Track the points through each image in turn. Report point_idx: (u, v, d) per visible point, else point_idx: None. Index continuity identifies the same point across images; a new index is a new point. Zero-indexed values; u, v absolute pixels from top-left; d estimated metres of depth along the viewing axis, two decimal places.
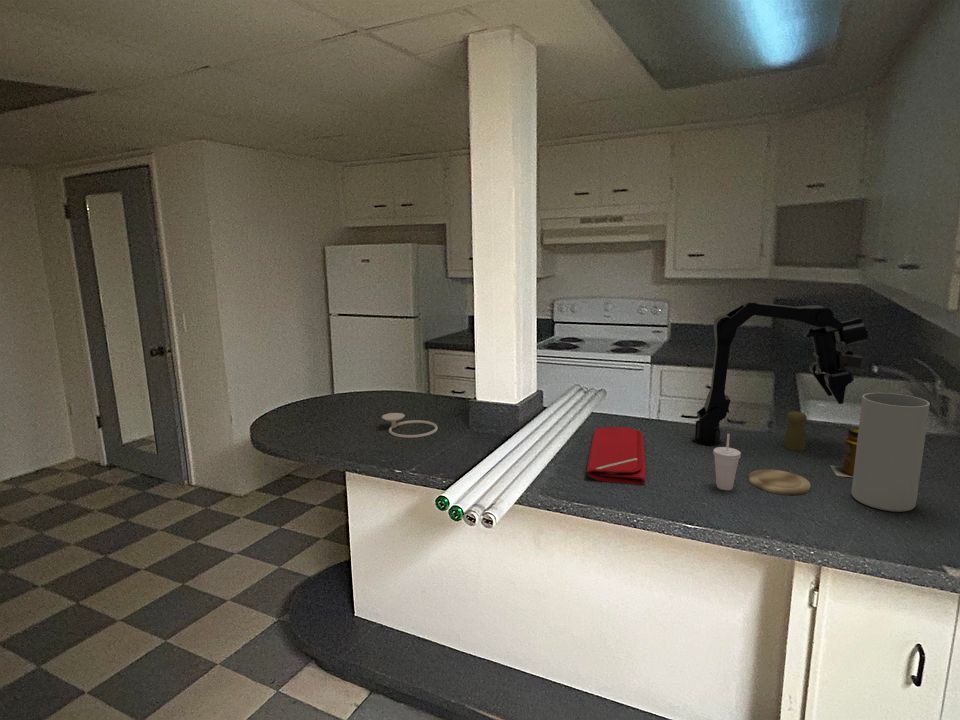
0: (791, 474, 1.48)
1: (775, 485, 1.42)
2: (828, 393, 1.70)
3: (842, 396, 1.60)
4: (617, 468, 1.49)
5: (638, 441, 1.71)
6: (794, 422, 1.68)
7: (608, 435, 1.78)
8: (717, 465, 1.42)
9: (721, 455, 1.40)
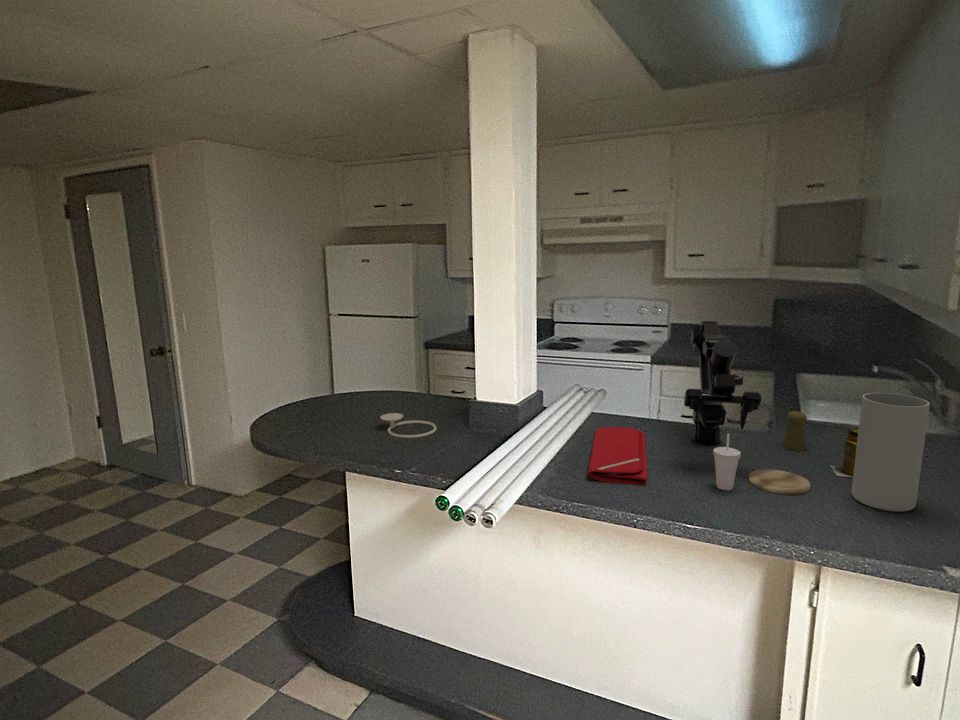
0: (791, 474, 1.48)
1: (775, 485, 1.42)
2: None
3: (701, 417, 1.51)
4: (619, 468, 1.49)
5: (640, 441, 1.71)
6: (794, 422, 1.68)
7: (610, 435, 1.77)
8: (717, 465, 1.42)
9: (721, 455, 1.40)
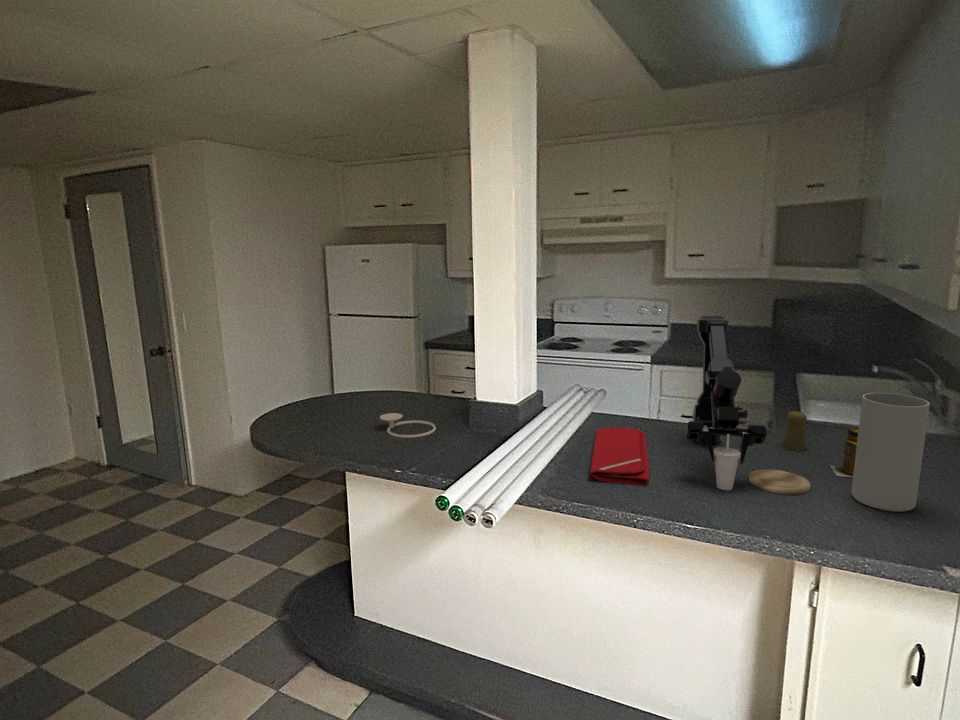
0: (791, 474, 1.48)
1: (775, 485, 1.42)
2: (740, 461, 1.41)
3: (709, 452, 1.43)
4: (621, 469, 1.49)
5: (641, 441, 1.71)
6: (794, 422, 1.68)
7: (611, 435, 1.77)
8: (717, 465, 1.42)
9: (721, 455, 1.40)
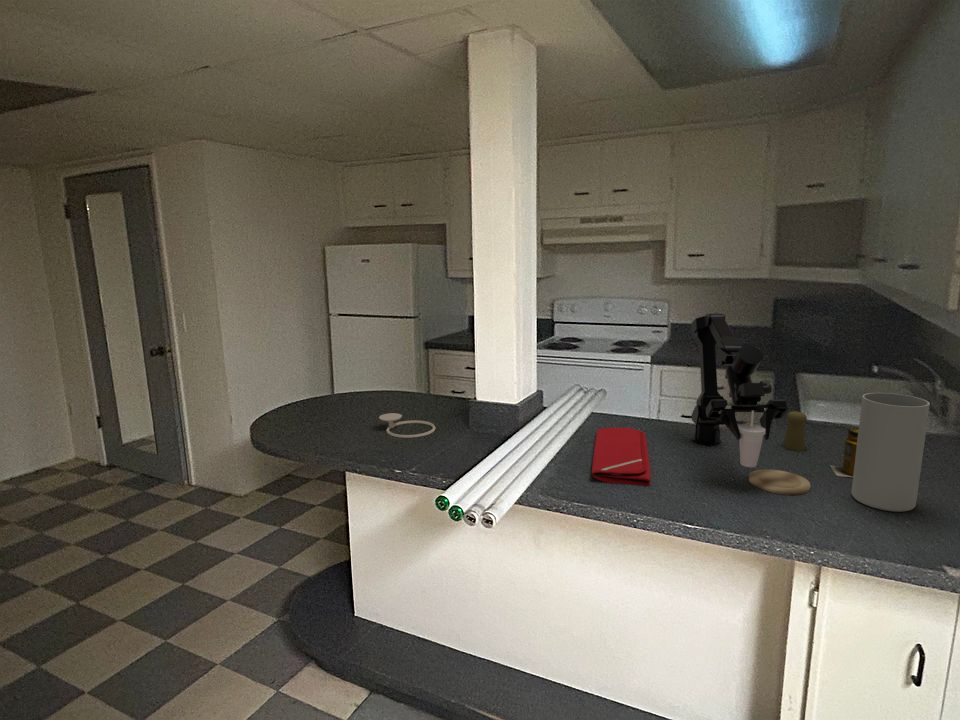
0: (791, 474, 1.48)
1: (775, 485, 1.42)
2: (765, 437, 1.40)
3: (734, 429, 1.41)
4: (622, 469, 1.49)
5: (641, 442, 1.71)
6: (794, 422, 1.68)
7: (611, 436, 1.77)
8: (743, 442, 1.40)
9: (748, 432, 1.38)
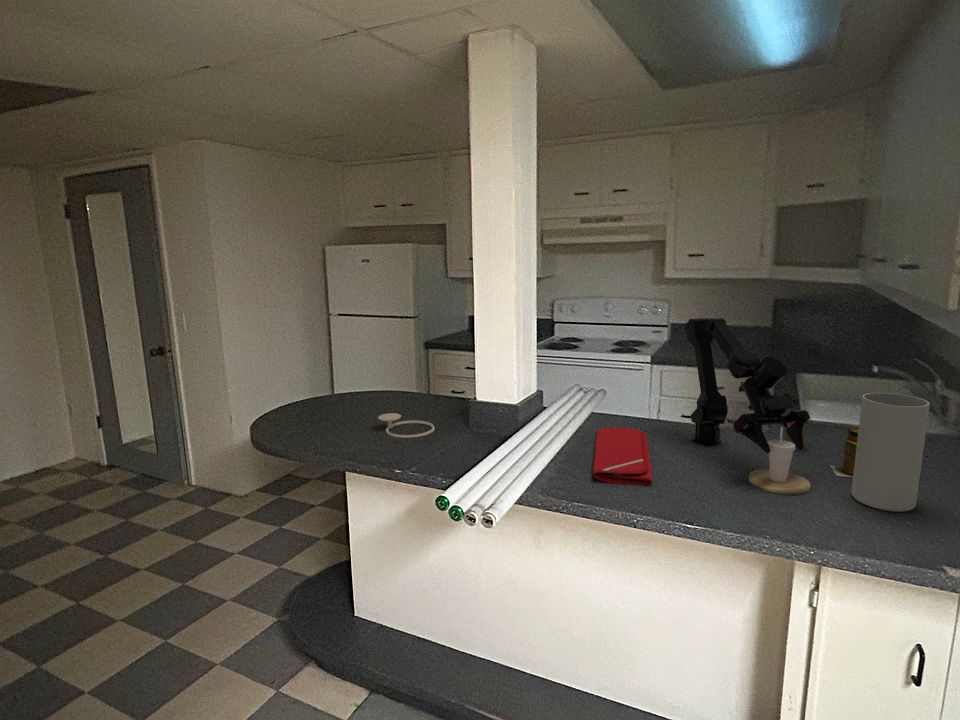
0: (791, 474, 1.48)
1: (775, 485, 1.42)
2: (798, 447, 1.44)
3: (763, 443, 1.42)
4: (624, 469, 1.48)
5: (642, 442, 1.71)
6: None
7: (612, 436, 1.77)
8: (775, 459, 1.42)
9: (782, 448, 1.41)
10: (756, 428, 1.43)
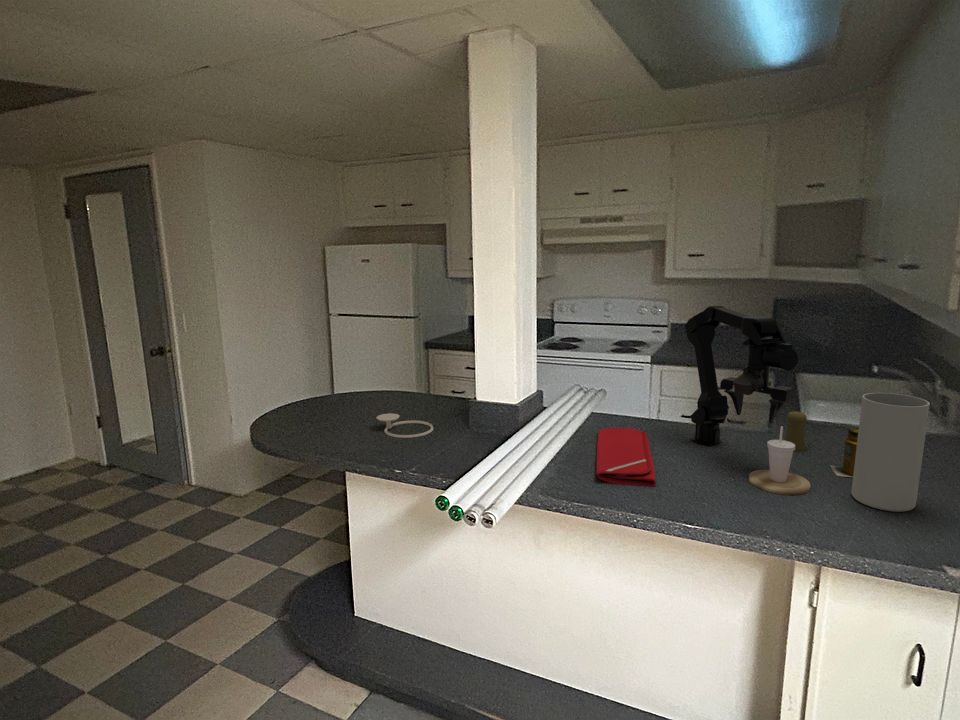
0: (791, 474, 1.48)
1: (775, 485, 1.42)
2: None
3: None
4: (627, 470, 1.48)
5: (644, 442, 1.70)
6: (794, 422, 1.68)
7: (613, 436, 1.77)
8: (775, 459, 1.42)
9: (782, 448, 1.41)
10: (729, 394, 1.60)
